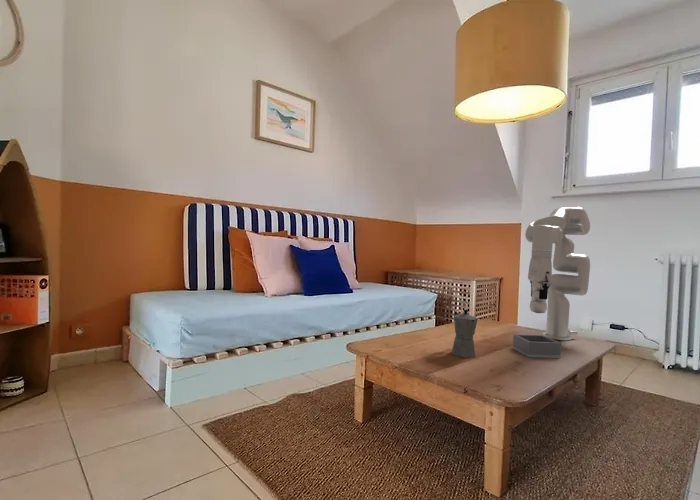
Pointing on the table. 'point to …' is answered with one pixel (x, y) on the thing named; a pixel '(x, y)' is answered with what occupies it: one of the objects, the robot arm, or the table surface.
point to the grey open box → (536, 346)
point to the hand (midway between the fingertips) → (538, 297)
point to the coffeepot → (464, 335)
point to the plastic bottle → (537, 297)
